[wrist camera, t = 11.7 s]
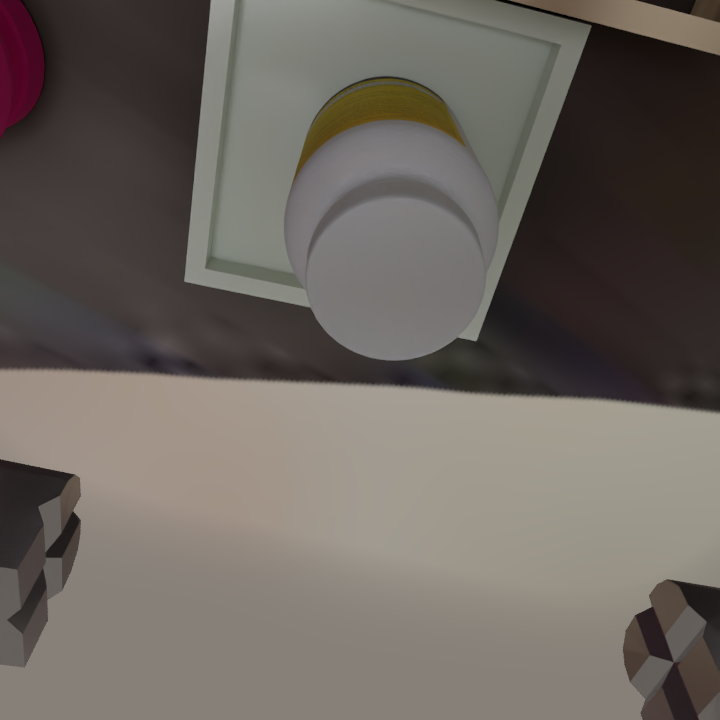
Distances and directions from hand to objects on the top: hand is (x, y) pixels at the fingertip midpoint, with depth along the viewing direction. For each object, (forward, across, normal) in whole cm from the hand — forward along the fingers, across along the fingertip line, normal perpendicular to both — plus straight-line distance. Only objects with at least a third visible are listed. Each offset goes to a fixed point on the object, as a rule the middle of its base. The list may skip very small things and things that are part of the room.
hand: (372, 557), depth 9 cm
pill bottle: (+21, 0, 0) cm, 21 cm away
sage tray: (+22, 0, 0) cm, 22 cm away
